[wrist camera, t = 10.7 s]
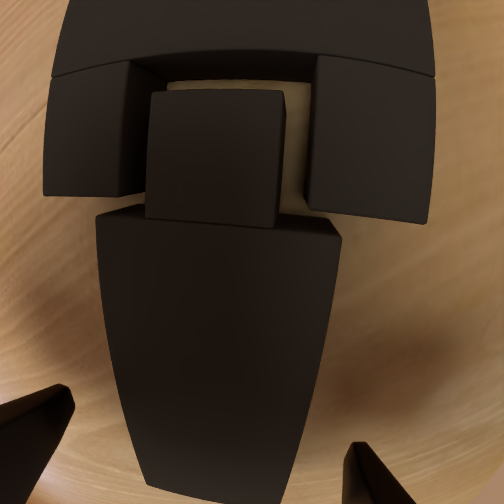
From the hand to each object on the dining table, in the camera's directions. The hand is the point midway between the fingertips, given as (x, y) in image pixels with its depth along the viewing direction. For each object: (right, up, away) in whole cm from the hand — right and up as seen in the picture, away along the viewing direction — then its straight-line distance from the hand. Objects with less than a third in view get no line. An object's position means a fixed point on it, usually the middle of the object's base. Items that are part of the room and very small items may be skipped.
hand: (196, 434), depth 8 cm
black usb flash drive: (+1, +2, +3) cm, 3 cm away
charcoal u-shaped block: (+1, +13, 0) cm, 13 cm away
